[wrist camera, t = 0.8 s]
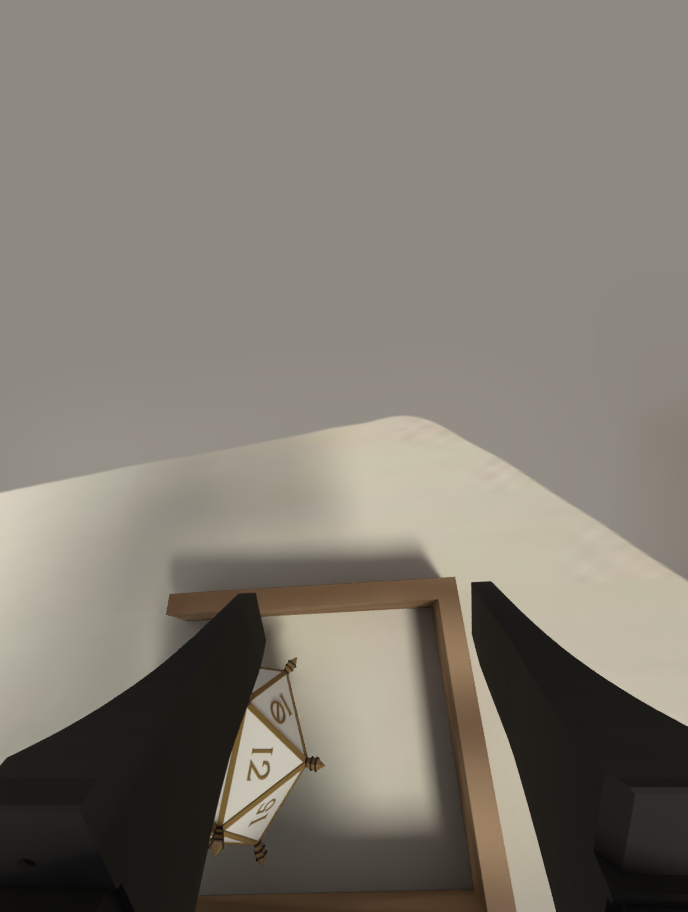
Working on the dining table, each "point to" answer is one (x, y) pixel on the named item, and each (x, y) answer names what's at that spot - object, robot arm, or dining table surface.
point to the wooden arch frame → (492, 896)
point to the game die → (261, 764)
